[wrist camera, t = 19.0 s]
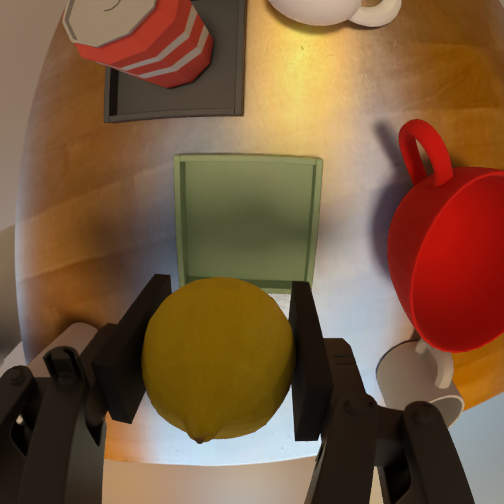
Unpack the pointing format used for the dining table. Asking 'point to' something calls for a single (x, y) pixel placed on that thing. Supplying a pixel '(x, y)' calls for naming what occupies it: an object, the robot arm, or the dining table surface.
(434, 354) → the cup
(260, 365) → the fruit
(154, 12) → the beverage can
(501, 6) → the dining table surface
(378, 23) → the mug
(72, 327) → the coffee cup
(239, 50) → the charcoal tray
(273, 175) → the green tray
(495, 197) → the ceramic cup
